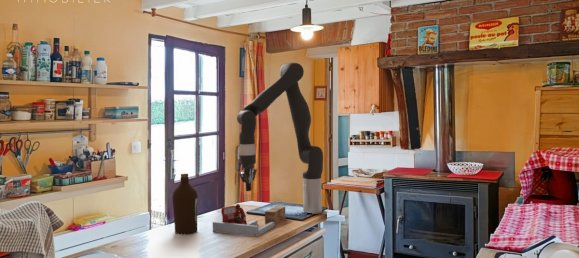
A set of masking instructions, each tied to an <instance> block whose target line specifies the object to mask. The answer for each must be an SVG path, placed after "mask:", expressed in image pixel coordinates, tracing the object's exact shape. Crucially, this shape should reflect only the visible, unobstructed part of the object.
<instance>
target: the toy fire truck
mask: <svg viewBox="0 0 579 258" xmlns="http://www.w3.org/2000/svg"><path fill="white" fill-rule="evenodd" d="M220 213H221V215H222V217H221V218H222V219H221V220H222V221H221V222H226V223H235V224H245V225H246V224H248V223H247V216H246V213H245V211H244V209H243V207H241V205H240V204H239V203H237V204H236V205H229V206H224V207H222V208H221V211H220Z"/></svg>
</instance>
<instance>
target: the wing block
mask: <svg viewBox="0 0 579 258" xmlns="http://www.w3.org/2000/svg"><path fill="white" fill-rule="evenodd" d="M285 220H286V206H282V205H281V206H280V205H276V206H274V207H271V208H269V209H267V210H265V211H264V225H266V224H268V223H270V222H274V224H275V225H278V224H279V223H281V222H283V221H285Z"/></svg>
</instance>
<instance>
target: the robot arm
mask: <svg viewBox="0 0 579 258" xmlns="http://www.w3.org/2000/svg"><path fill="white" fill-rule="evenodd" d="M303 67H304V66H302V65H301V64H300V63H298V62H287V63H284V64H283V65H281V67H280V70H279V75H280V78H278V80H276V81H275V82H274V83H272V84H271V85H269V86H268V87H267V88H265V89H263V90H262V92H260V93H259V94H257V96H256V97H255V98H254V99H253V100H252V101H251V102H250V103H249V104H247V105H246V106H245V107H244V108H242V109H241V110H240V111H239V112H238V114H237V116H236V120H237V122H238V124H239V125H241V131H240V133H239V138H238V139H239V148H238V151H239V154H238V155H239V164H240V165H242V166H241V172H239V173H238V174H239V177H240V179H241V181H242V183H244V184H245V191H246V192H251V191H252V184H253V181H255V178H256V175H257V171H258V170H257V168H255V164H256V163H257V157H256V156H257V154H256V153H257V150H256V143H255V142H256V141H255V140H256V139H255V138H256V137H255V134H256V133H255V132H256V124H257V116H258V115H260V114H262V113H264V112H265V111H266V110H267V109H268V107H270V106H271V105H272V104H273V103H274V102H275V100H277V99H278V98H279V97H280V96H281V95H282V94H283V93H284V92H285V94H286V97H287V103H288V107H289V111H290V116H291V120H292V123H293V128H294V133H295V138H296V143H297V150H298V151H297V152H298V157H299V159H300V161H301V163H303V164H306V165H308V166H307V169H306V170H305V171H303V173H302V203H303V204H302V206H303V207H302V208H303V209H302V210H303V211H304V212H308V213H312V214H311V215H316V214H317V215H318V214H321V213H323V212H322V210H323V208H322V207H323V206H322V205H323V204H322V201H323V200H322V174H323V171H324V168H323V167H324V152H323V150H322V148H321V147H320V146H315V145H312V144H311V142H310V141H311V140H310V137H309V132H310V128H311V124H312V117H311V111H310V108H309V104H308V103H307V101H306V99H305V98H304V95H303V94H302V92H301V88H300V86H299V81H300V80H301V79H303V76H304V74H305V73H304V72H305V71H304V68H303ZM303 211H302V212H303ZM304 212H303V213H304Z"/></svg>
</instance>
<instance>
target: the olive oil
mask: <svg viewBox="0 0 579 258" xmlns="http://www.w3.org/2000/svg"><path fill="white" fill-rule="evenodd" d="M189 179H190V178H189V174H188V173H181V174H180V184H179V185H177V187H176V188H175V189H174V191H173V193H172V197H171V198H172V207H173V208H172V209H173V221H174V232H175V234H176V235H184V234H185V235H192V234H195V233H197V232H198V203H199V196H198V191H197V189H196V188H195V187H193V185H191V183H190V182H189Z"/></svg>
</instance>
